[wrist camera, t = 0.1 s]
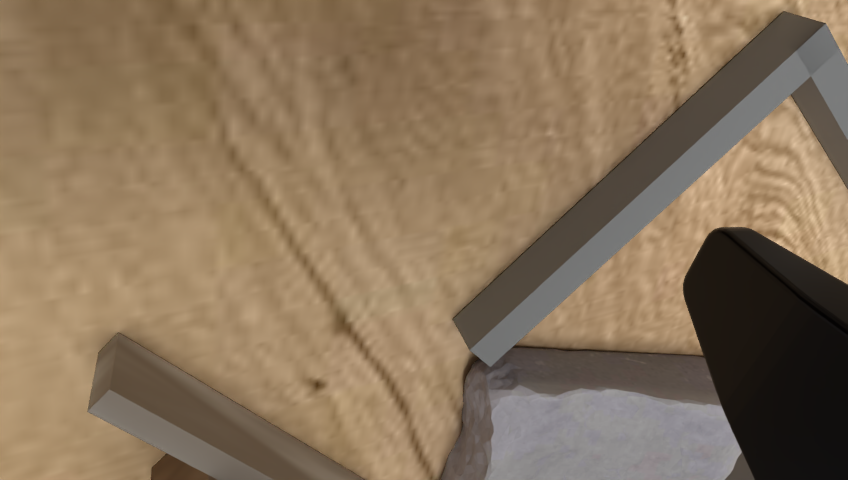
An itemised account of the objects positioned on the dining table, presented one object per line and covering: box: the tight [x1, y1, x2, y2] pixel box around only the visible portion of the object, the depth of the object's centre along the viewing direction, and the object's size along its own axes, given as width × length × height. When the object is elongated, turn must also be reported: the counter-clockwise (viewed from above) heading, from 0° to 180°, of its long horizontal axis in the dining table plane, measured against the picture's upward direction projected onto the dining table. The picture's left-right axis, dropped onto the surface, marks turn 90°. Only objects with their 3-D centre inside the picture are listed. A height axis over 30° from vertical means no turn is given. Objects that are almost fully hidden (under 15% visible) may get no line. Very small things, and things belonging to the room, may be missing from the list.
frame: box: [453, 12, 848, 480], centre depth 30 cm, size 16×18×2 cm
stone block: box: [441, 347, 741, 480], centre depth 31 cm, size 12×5×10 cm
